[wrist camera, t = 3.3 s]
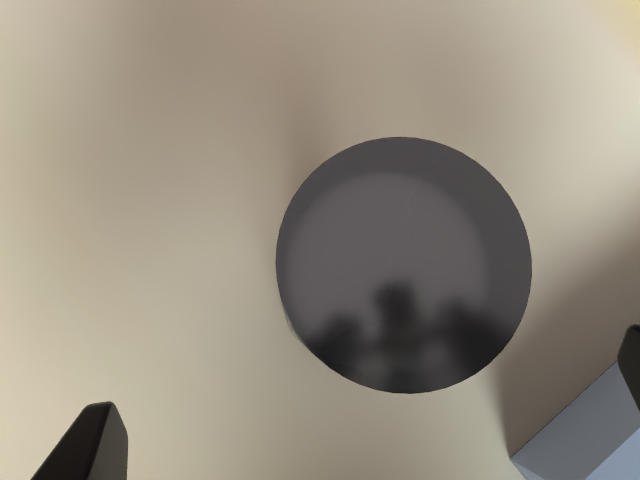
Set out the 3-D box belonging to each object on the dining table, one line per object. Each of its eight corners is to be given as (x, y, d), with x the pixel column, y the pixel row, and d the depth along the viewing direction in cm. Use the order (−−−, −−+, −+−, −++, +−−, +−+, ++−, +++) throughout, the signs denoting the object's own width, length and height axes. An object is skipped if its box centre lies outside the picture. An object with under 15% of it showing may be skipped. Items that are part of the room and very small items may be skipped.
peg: (323, 371, 18) (389, 451, 6) (267, 300, 19) (223, 239, 6) (392, 314, 19) (583, 281, 7) (336, 244, 19) (420, 89, 7)
